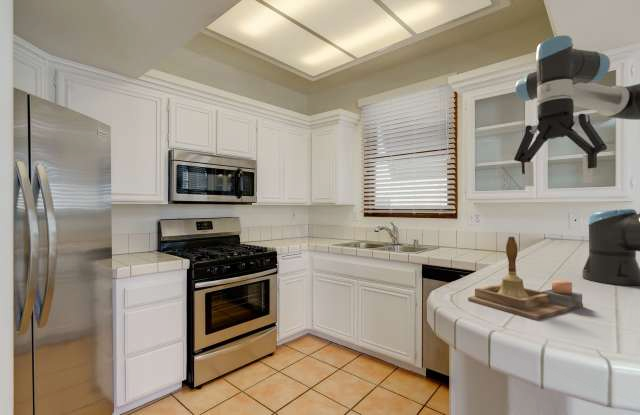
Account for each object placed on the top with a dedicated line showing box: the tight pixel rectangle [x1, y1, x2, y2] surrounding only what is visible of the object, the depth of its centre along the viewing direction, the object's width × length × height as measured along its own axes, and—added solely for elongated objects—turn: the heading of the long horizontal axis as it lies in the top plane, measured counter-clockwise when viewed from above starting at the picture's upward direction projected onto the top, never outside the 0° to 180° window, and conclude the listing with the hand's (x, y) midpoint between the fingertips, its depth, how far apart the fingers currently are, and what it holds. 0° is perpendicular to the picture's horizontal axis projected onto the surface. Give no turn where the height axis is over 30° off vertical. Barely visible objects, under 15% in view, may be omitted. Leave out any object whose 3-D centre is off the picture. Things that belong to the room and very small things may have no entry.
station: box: [467, 283, 584, 321], centre depth 83 cm, size 20×17×3 cm
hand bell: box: [498, 236, 529, 299], centre depth 84 cm, size 8×8×16 cm
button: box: [551, 279, 573, 294], centre depth 82 cm, size 4×4×2 cm
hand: (556, 184), depth 85 cm, fingers open, 13 cm apart
